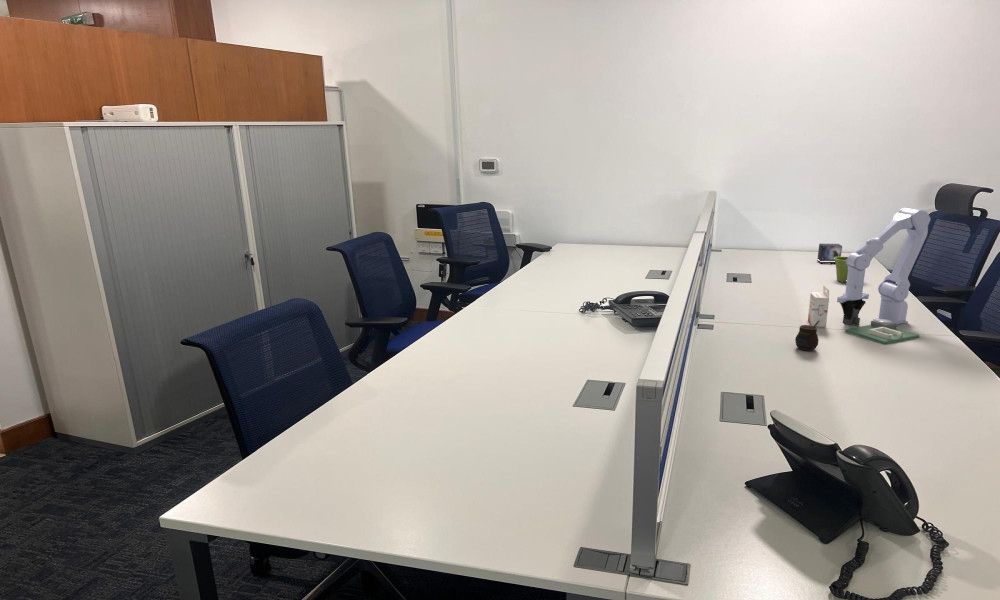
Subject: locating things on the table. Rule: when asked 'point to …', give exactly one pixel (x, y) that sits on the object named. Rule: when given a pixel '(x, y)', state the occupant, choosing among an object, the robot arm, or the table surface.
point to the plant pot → (841, 268)
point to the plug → (853, 318)
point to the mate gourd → (807, 337)
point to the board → (882, 332)
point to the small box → (829, 252)
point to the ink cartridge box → (818, 308)
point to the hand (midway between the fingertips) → (850, 318)
